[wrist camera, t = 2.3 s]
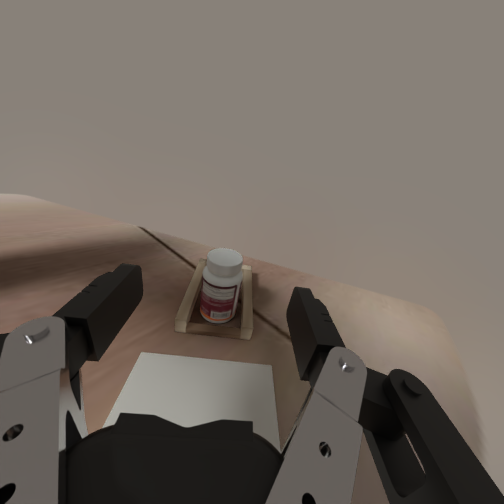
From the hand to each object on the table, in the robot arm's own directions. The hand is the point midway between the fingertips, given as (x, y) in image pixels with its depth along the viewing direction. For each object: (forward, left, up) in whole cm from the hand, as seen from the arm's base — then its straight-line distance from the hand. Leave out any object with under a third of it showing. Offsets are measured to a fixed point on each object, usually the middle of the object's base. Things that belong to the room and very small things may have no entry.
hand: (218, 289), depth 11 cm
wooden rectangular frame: (0, +14, -13) cm, 19 cm away
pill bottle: (0, +11, -13) cm, 17 cm away
